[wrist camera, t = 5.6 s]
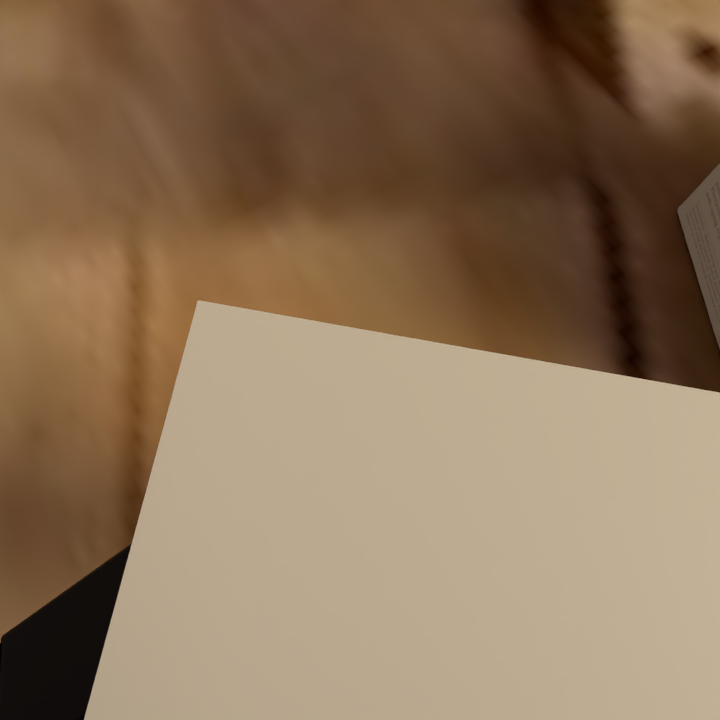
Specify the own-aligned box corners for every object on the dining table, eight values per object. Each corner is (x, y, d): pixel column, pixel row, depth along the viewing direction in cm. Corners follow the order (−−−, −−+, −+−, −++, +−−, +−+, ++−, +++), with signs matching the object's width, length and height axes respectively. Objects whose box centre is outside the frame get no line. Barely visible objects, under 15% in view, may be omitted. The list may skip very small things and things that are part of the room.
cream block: (520, 754, 14) (1015, 1572, 3) (281, 700, 14) (-56, 1232, 3) (550, 507, 15) (977, 437, 4) (330, 464, 15) (198, 301, 5)
